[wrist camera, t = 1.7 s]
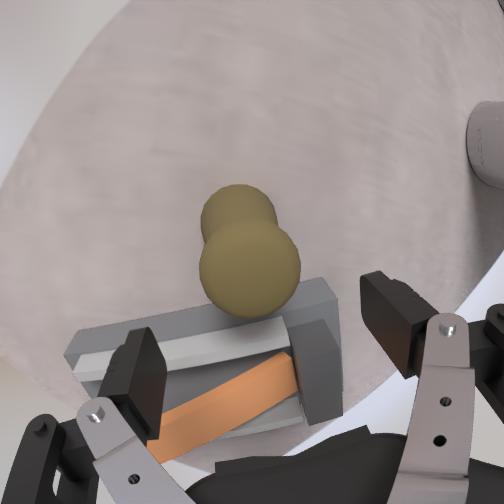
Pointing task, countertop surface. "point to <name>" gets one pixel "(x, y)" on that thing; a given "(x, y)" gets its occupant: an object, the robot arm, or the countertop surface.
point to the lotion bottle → (501, 3)
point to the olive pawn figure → (246, 254)
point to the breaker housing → (234, 354)
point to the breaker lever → (224, 408)
